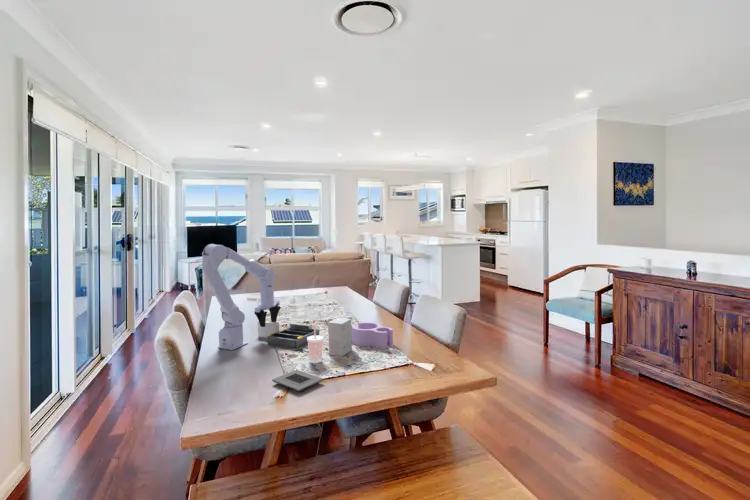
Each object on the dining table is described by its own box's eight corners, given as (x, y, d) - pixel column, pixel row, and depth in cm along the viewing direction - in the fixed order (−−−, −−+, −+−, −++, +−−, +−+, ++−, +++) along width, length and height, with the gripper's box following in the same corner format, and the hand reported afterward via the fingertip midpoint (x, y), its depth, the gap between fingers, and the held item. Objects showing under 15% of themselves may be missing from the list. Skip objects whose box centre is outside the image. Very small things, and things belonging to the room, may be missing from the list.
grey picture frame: (272, 385, 134) (271, 378, 134) (296, 375, 142) (296, 368, 142) (299, 396, 126) (298, 389, 126) (323, 384, 134) (323, 377, 134)
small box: (338, 348, 169) (337, 317, 168) (352, 350, 166) (351, 318, 165) (328, 354, 161) (327, 322, 160) (342, 356, 159) (341, 323, 158)
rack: (296, 348, 168) (296, 334, 168) (267, 344, 174) (267, 330, 174) (319, 337, 184) (319, 324, 183) (291, 333, 190) (291, 320, 189)
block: (275, 339, 182) (275, 323, 181) (258, 336, 186) (257, 321, 185) (279, 337, 184) (278, 322, 183) (261, 335, 188) (261, 320, 187)
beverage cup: (312, 357, 159) (311, 321, 157) (326, 359, 156) (325, 323, 155) (304, 362, 153) (303, 326, 152) (318, 364, 151) (317, 327, 149)
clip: (398, 343, 174) (398, 327, 174) (380, 351, 165) (380, 334, 164) (362, 335, 187) (362, 320, 186) (344, 342, 177) (343, 326, 176)
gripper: (263, 298, 175) (264, 329, 176) (284, 292, 188) (285, 321, 189) (250, 297, 178) (252, 327, 179) (272, 291, 191) (273, 319, 192)
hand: (268, 324), depth 184 cm, fingers open, 7 cm apart
